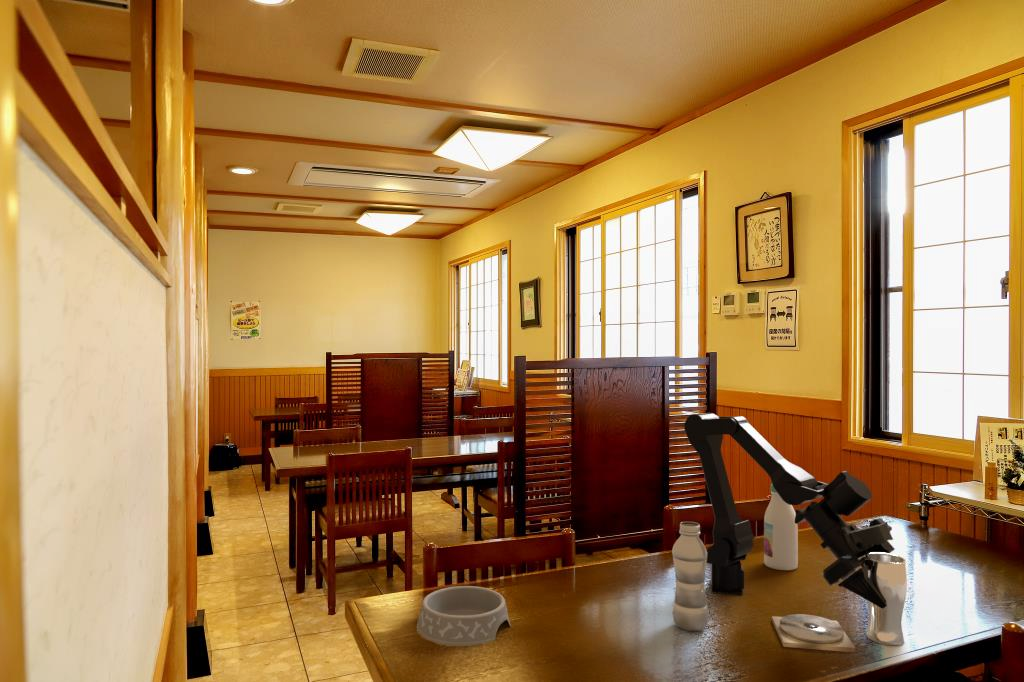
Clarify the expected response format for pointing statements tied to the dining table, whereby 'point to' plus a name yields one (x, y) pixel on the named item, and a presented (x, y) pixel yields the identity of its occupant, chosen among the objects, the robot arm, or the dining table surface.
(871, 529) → the robot arm
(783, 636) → the base plate
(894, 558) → the beer glass
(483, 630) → the dog bowl
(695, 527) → the plastic bottle
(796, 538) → the milk bottle
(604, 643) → the dining table surface
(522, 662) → the dining table surface
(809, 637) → the flange
